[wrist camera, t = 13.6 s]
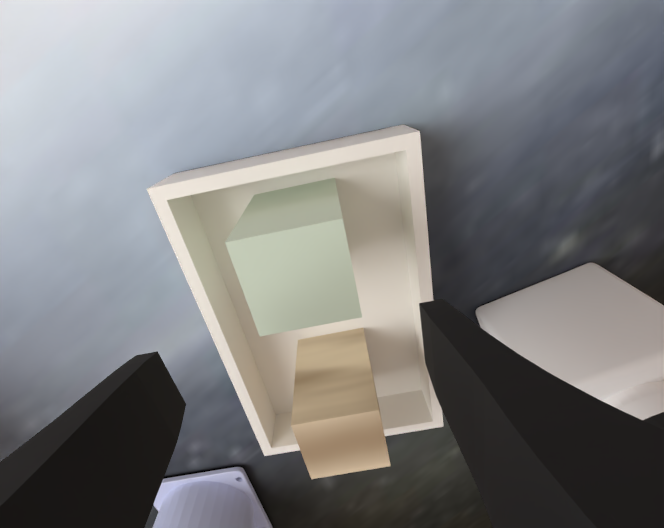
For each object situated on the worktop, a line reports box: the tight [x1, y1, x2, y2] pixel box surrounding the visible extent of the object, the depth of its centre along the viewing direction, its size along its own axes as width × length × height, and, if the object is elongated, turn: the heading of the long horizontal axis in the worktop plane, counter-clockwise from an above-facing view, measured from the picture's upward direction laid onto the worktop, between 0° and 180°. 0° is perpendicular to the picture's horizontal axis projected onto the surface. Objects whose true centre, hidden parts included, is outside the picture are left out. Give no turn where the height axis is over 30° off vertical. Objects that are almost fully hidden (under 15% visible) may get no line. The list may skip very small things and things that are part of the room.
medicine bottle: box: [476, 262, 664, 430], centre depth 17 cm, size 7×7×12 cm
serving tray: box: [147, 125, 443, 456], centre depth 19 cm, size 17×11×3 cm, turn 11°
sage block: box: [225, 178, 362, 336], centre depth 15 cm, size 4×4×6 cm
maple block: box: [291, 328, 391, 479], centre depth 19 cm, size 4×4×6 cm
